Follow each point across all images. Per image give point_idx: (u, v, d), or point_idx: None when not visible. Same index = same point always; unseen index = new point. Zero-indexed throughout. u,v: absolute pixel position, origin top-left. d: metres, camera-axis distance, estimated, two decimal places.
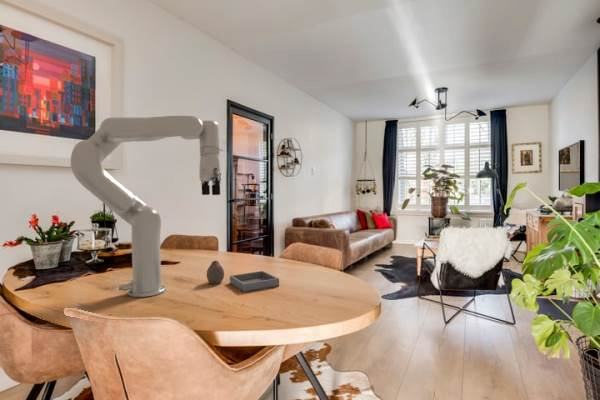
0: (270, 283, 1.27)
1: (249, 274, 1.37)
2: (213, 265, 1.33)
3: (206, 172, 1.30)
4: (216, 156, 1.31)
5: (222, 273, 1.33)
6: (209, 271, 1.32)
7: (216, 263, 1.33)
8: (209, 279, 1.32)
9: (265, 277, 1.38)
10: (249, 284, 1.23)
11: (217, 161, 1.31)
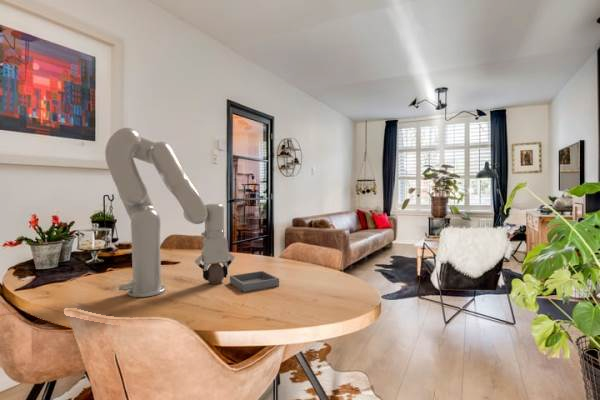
0: (270, 283, 1.27)
1: (249, 274, 1.37)
2: (213, 265, 1.33)
3: (223, 255, 1.33)
4: None
5: (222, 273, 1.33)
6: (209, 271, 1.32)
7: (216, 263, 1.33)
8: (209, 279, 1.32)
9: (265, 277, 1.38)
10: (249, 284, 1.23)
11: None
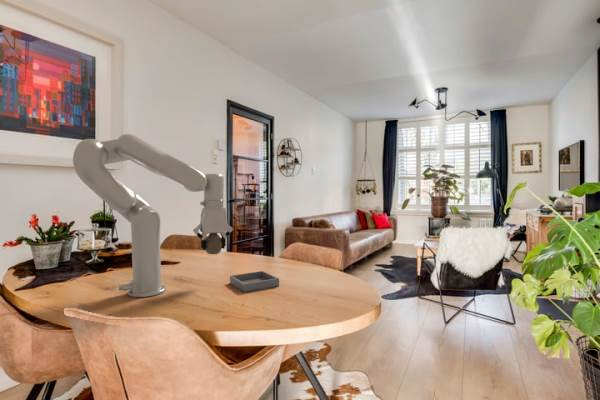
0: (270, 283, 1.27)
1: (249, 274, 1.37)
2: (211, 235, 1.32)
3: (222, 225, 1.33)
4: None
5: (220, 243, 1.33)
6: (207, 241, 1.31)
7: (214, 233, 1.33)
8: (207, 249, 1.31)
9: (265, 277, 1.38)
10: (249, 284, 1.23)
11: None
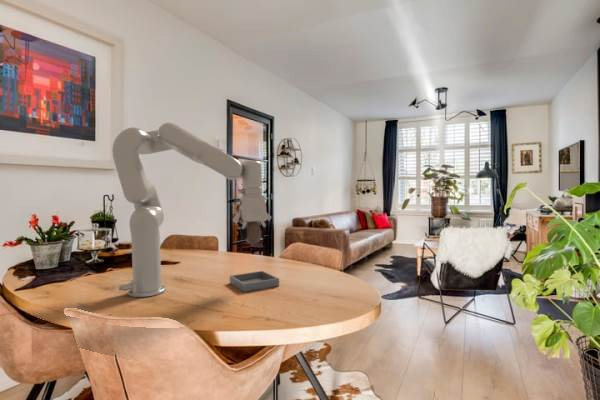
0: (270, 283, 1.27)
1: (249, 274, 1.37)
2: (251, 223, 1.29)
3: (261, 213, 1.30)
4: None
5: (260, 232, 1.30)
6: (247, 229, 1.28)
7: None
8: (247, 237, 1.28)
9: (265, 277, 1.38)
10: (249, 284, 1.23)
11: None
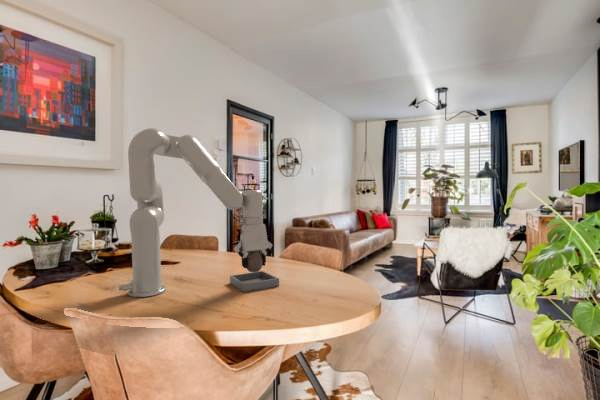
0: (270, 283, 1.27)
1: (249, 274, 1.37)
2: (252, 252, 1.30)
3: (262, 242, 1.30)
4: None
5: (261, 261, 1.30)
6: (248, 258, 1.29)
7: None
8: (248, 267, 1.29)
9: (265, 277, 1.38)
10: (249, 284, 1.23)
11: None
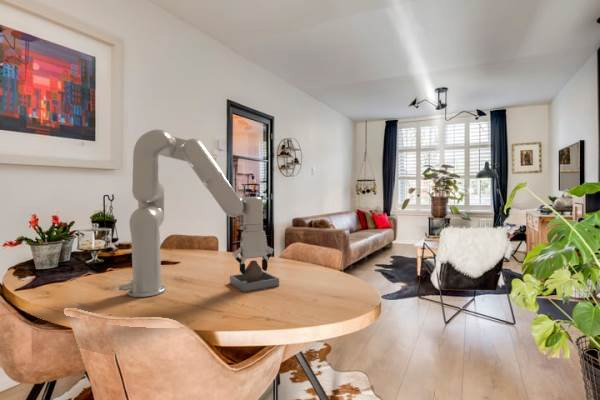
0: (270, 283, 1.27)
1: None
2: (251, 265, 1.30)
3: (262, 249, 1.30)
4: None
5: (261, 273, 1.30)
6: (248, 271, 1.29)
7: (255, 263, 1.30)
8: (248, 279, 1.29)
9: (265, 277, 1.38)
10: (249, 284, 1.23)
11: None
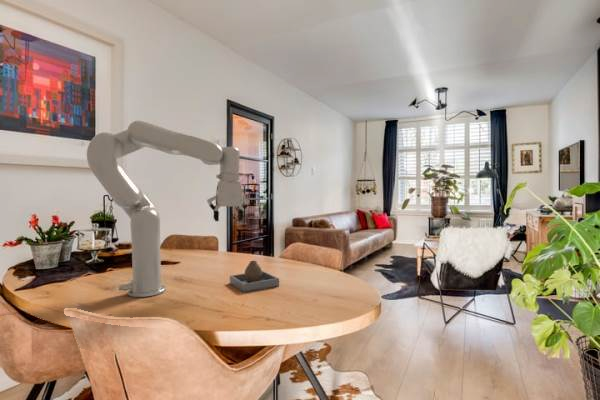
0: (270, 283, 1.27)
1: None
2: (251, 265, 1.30)
3: (237, 199, 1.33)
4: None
5: (260, 273, 1.30)
6: (248, 271, 1.29)
7: (254, 263, 1.30)
8: (248, 279, 1.29)
9: (265, 277, 1.38)
10: (249, 284, 1.23)
11: None
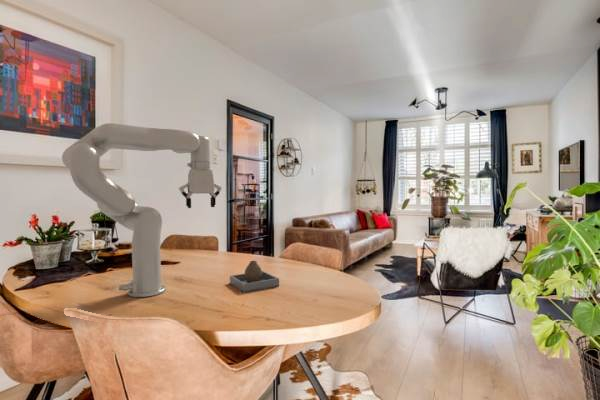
0: (270, 283, 1.27)
1: None
2: (251, 265, 1.30)
3: (209, 186, 1.38)
4: None
5: (260, 273, 1.30)
6: (248, 271, 1.29)
7: (254, 263, 1.30)
8: (248, 279, 1.29)
9: (265, 277, 1.38)
10: (249, 284, 1.23)
11: None
